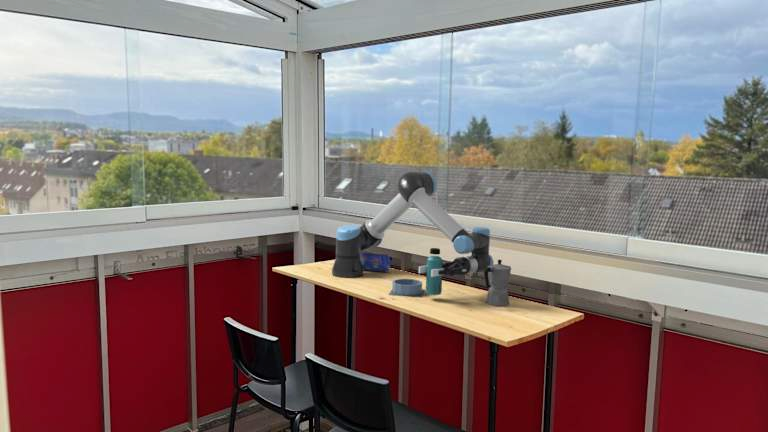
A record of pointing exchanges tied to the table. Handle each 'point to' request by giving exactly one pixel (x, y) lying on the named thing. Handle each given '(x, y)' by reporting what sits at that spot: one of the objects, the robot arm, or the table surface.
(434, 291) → the beverage bottle
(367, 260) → the pencil case
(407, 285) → the bowl
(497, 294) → the coffeepot
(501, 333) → the table surface
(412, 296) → the mat
